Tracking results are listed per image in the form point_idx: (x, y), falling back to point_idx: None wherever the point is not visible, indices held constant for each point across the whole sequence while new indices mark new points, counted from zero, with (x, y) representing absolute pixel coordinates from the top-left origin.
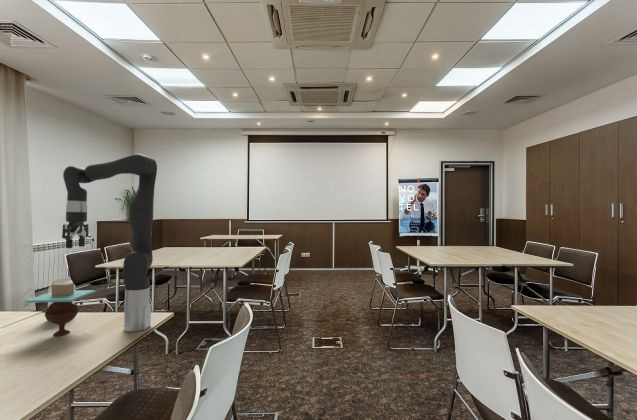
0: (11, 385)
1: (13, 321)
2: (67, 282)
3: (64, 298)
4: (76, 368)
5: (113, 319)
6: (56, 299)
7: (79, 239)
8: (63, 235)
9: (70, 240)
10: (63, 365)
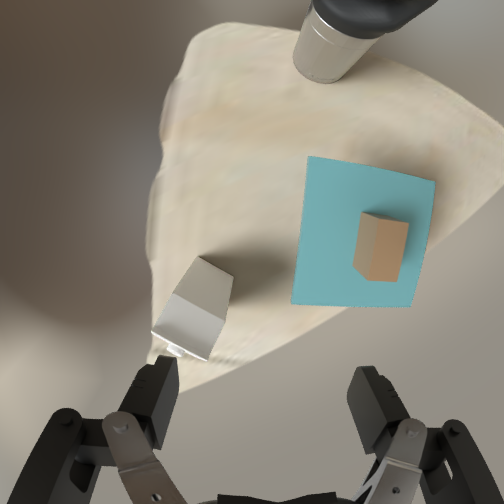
0: (495, 186)
1: (214, 366)
2: (177, 322)
3: (419, 209)
4: (474, 125)
5: (231, 138)
6: (425, 227)
7: (162, 437)
8: (443, 467)
9: (398, 420)
10: (467, 145)
